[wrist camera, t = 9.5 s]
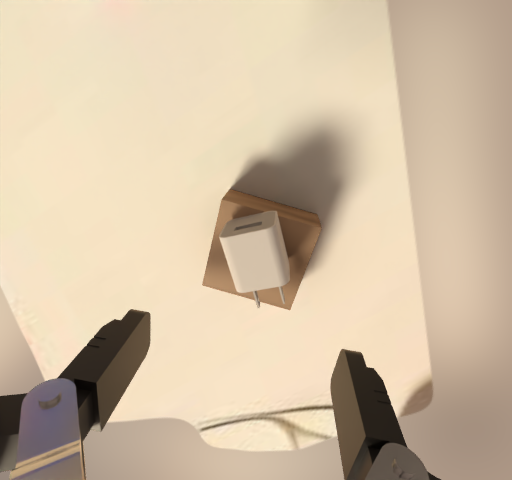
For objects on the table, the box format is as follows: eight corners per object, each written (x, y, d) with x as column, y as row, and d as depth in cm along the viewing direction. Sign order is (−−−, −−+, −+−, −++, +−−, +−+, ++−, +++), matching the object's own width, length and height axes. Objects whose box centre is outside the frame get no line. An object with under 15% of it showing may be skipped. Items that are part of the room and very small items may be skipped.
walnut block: (230, 187, 26) (221, 199, 23) (316, 212, 26) (321, 228, 23) (212, 264, 30) (202, 285, 26) (289, 286, 30) (290, 310, 26)
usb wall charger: (277, 209, 23) (275, 227, 19) (295, 286, 25) (297, 315, 21) (227, 220, 23) (216, 239, 20) (250, 294, 26) (244, 323, 22)
